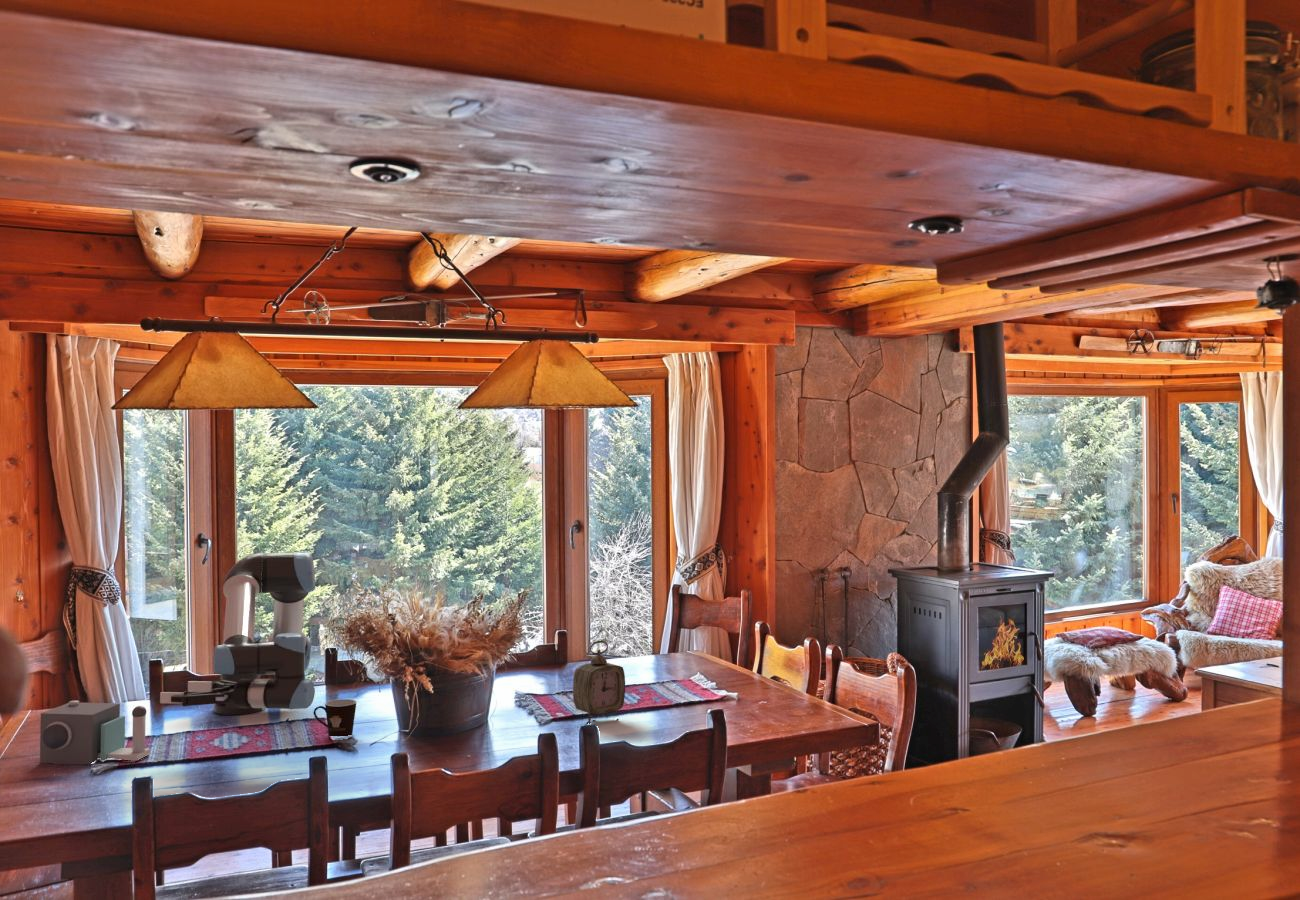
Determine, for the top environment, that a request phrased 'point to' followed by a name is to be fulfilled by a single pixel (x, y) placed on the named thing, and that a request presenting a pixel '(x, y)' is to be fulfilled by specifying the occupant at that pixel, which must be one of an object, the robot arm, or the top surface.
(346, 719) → the coffee mug
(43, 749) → the camera body
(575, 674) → the tabletop clock
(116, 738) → the battery sled
